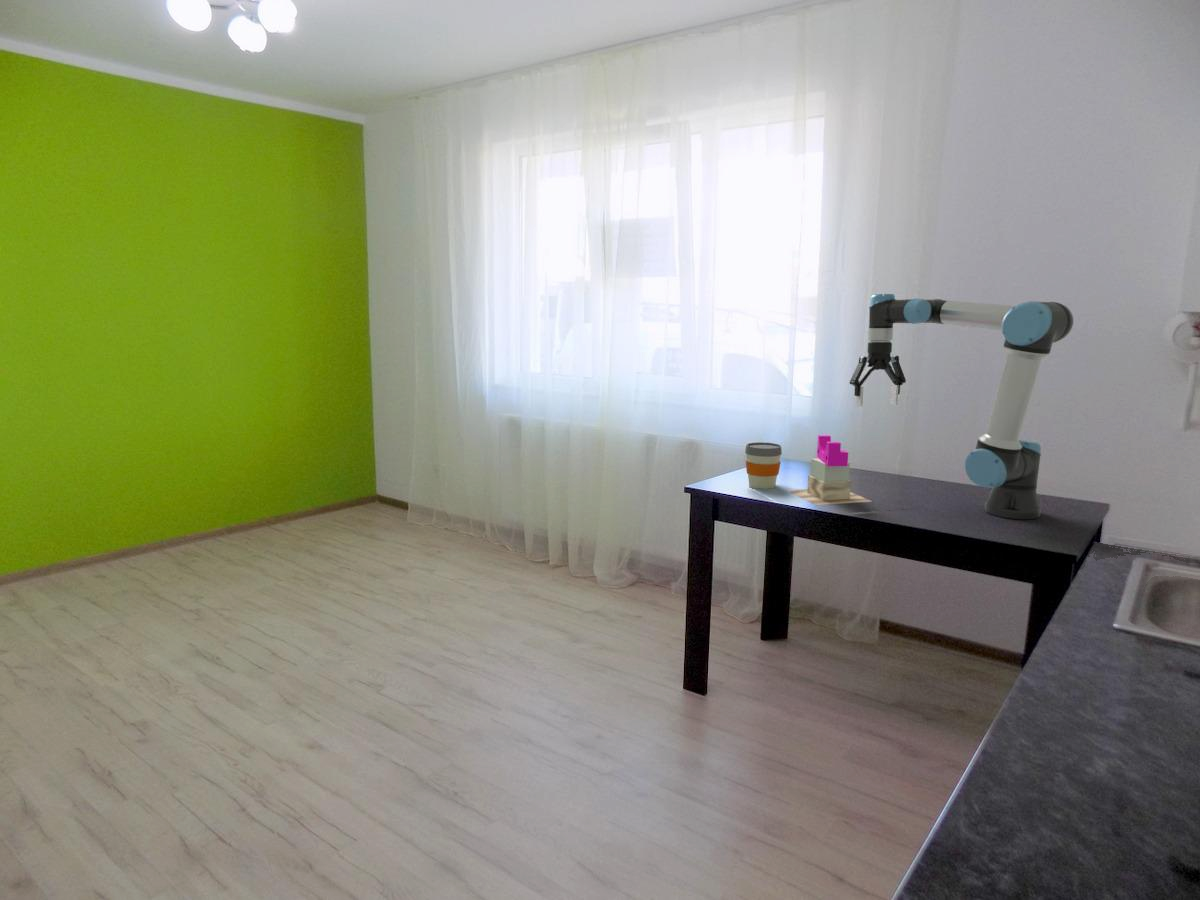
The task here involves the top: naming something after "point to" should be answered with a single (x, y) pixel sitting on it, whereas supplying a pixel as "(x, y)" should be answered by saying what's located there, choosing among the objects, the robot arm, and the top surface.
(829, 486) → the tower base
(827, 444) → the toy block
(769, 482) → the reusable coffee cup
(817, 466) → the tower top
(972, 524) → the top surface
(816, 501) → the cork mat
